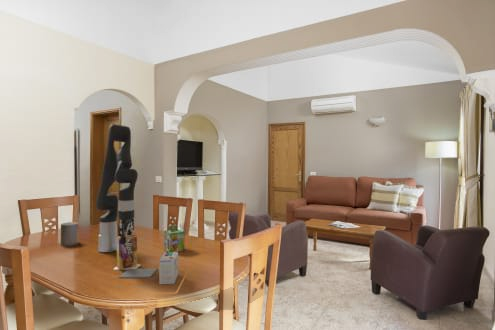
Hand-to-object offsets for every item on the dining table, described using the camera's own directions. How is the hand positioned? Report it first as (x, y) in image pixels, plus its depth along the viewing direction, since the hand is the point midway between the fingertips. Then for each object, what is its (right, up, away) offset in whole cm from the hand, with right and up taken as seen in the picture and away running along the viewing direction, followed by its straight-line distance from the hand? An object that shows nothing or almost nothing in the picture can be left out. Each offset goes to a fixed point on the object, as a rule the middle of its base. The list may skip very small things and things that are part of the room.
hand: (126, 242), depth 150 cm
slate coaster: (+9, -13, -9) cm, 18 cm away
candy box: (0, -13, 0) cm, 13 cm away
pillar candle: (-53, -13, +42) cm, 69 cm away
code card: (0, -13, 0) cm, 13 cm away
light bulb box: (+25, -13, -16) cm, 33 cm away
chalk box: (+17, -13, +28) cm, 35 cm away
